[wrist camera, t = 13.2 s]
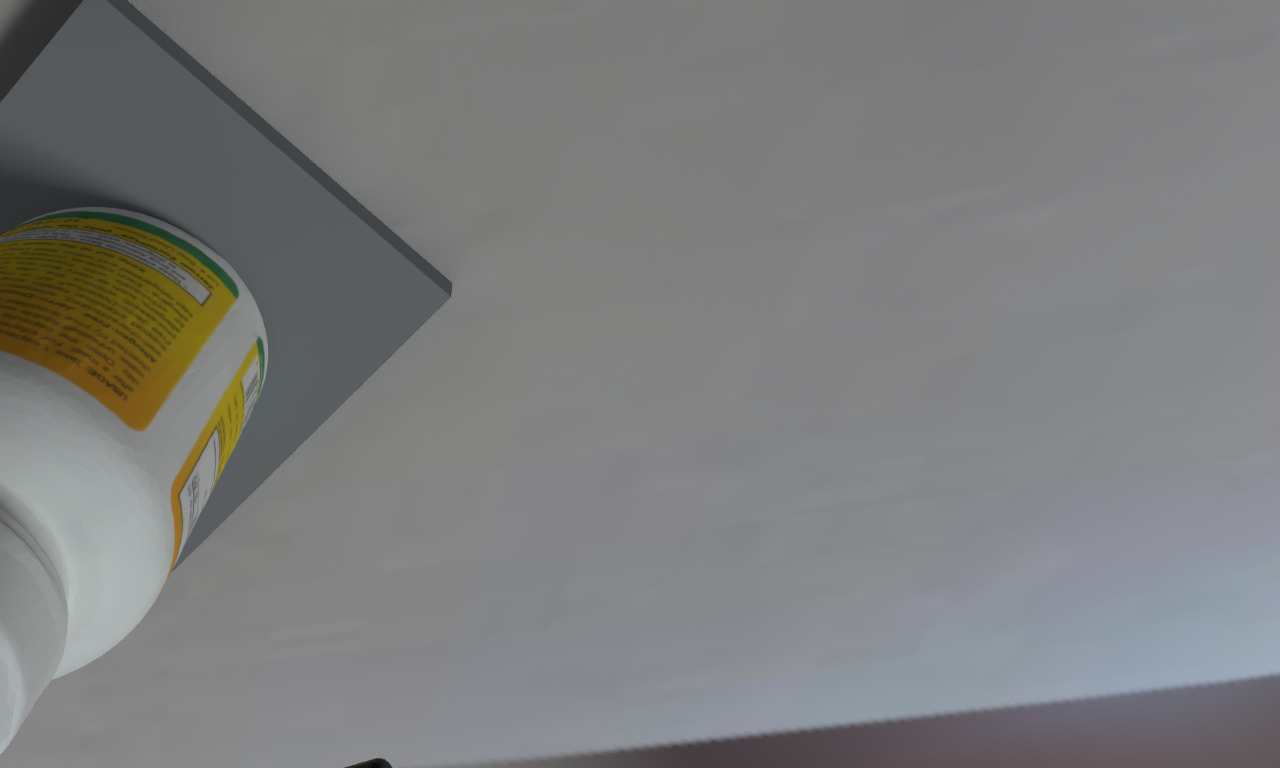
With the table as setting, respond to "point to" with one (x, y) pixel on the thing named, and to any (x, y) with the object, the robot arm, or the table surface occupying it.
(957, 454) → the table surface
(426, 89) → the table surface
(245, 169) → the mat
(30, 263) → the supplement bottle
